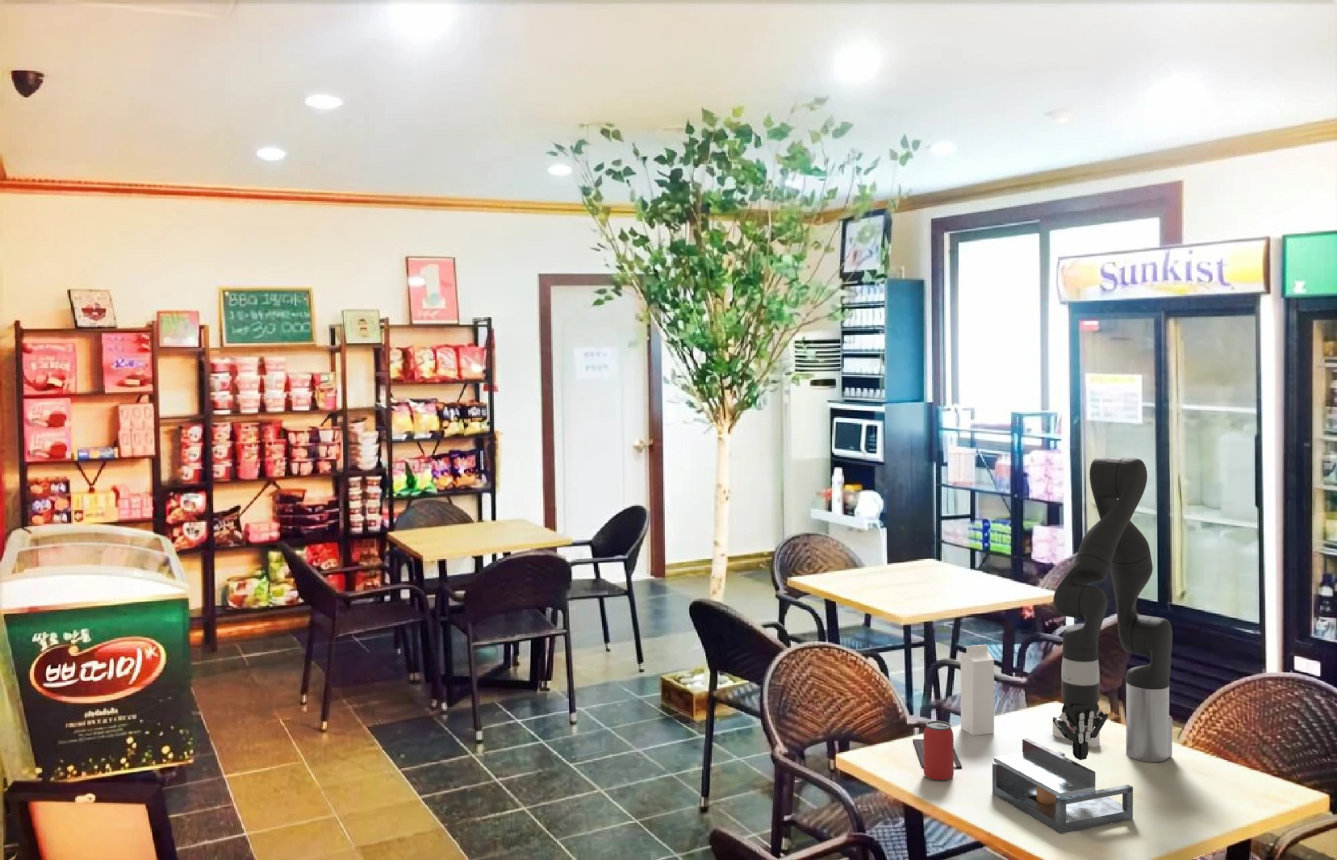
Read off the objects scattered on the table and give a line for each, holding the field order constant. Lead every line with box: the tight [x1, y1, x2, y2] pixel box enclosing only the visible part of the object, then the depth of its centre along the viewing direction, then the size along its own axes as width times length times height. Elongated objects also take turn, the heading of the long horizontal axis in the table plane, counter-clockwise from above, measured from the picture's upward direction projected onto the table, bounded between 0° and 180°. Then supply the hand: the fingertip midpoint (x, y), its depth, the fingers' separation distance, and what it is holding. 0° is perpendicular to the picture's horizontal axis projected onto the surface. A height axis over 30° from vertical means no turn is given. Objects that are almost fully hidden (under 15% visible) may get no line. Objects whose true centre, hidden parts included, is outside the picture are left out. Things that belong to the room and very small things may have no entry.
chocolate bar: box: [912, 738, 963, 770], centre depth 265 cm, size 9×1×18 cm
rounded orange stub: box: [1037, 786, 1057, 807], centre depth 232 cm, size 4×4×6 cm
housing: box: [991, 751, 1134, 835], centre depth 233 cm, size 18×22×7 cm
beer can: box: [923, 720, 955, 782], centre depth 251 cm, size 7×7×12 cm
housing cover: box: [993, 737, 1096, 798], centre depth 231 cm, size 9×21×4 cm, turn 20°
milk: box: [960, 644, 995, 737], centre depth 280 cm, size 6×6×22 cm
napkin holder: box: [1052, 713, 1101, 748], centre depth 272 cm, size 15×11×6 cm
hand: (1080, 758), depth 235 cm, fingers closed
